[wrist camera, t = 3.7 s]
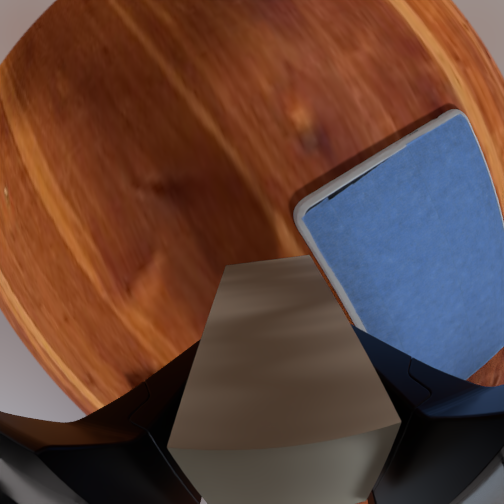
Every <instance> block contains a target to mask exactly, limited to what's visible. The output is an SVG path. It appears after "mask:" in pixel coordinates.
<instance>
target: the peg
mask: <svg viewBox="0 0 504 504" xmlns="http://www.w3.org/2000/svg"><path fill="white" fill-rule="evenodd" d="M400 425H401V420H400V418H399V416H398V414H397V412H396V410H395V408H394V406H393V404H392V402H391V400H390V398H389V396H388V394H387V392H386V390H385V388H384V386H383V384H382V382H381V380H380V378H379V376H378V374H377V372H376V370H375V369H374V367H373V365H372V363H371V361H370V359H369V357H368V355H367V354H366V352H365V350H364V348H363V346H362V344H361V343H360V341H359V339H358V337H357V335H356V334H355V332H354V330H353V328H352V326H351V325H350V323H349V321H348V319H347V318H346V316H345V314H344V312H343V310H342V309H341V307H340V305H339V304H338V302H337V300H336V298H335V297H334V295H333V293H332V292H331V290H330V288H329V286H328V285H327V283H326V281H325V280H324V278H323V276H322V275H321V273H320V271H319V270H318V268H317V266H316V265H315V263H314V261H313V260H312V258H311V256H310V255H305V256H297V257H289V258H281V259H274V260H266V261H258V262H250V263H242V264H234V265H226V267H225V270H224V273H223V276H222V278H221V281H220V284H219V287H218V290H217V293H216V296H215V299H214V302H213V305H212V308H211V311H210V314H209V317H208V320H207V323H206V326H205V329H204V332H203V335H202V338H201V341H200V344H199V347H198V350H197V353H196V356H195V359H194V362H193V365H192V368H191V371H190V374H189V377H188V381H187V384H186V387H185V390H184V393H183V396H182V399H181V403H180V406H179V409H178V412H177V415H176V419H175V422H174V425H173V428H172V432H171V435H170V438H169V441H168V445H167V449H168V450H169V452H170V453H171V455H172V456H173V458H174V459H175V461H176V462H177V464H178V465H179V467H180V468H181V469H182V471H183V472H184V474H185V475H186V476H187V478H188V479H189V481H190V482H191V483H192V485H193V486H194V487H195V489H196V490H197V491H198V492H199V494H200V495H201V496H202V497H203V498H204V500H205V501H206V502H207V504H355V503H359V502H363V501H366V500H367V498H368V496H369V494H370V492H371V490H372V488H373V487H374V485H375V483H376V481H377V479H378V477H379V475H380V472H381V470H382V468H383V466H384V464H385V462H386V459H387V457H388V455H389V453H390V450H391V448H392V445H393V443H394V440H395V438H396V435H397V433H398V430H399V427H400Z"/></svg>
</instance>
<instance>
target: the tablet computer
mask: <svg viewBox="0 0 504 504" xmlns="http://www.w3.org/2000/svg"><path fill="white" fill-rule="evenodd" d="M293 217H294V222H295V225H296V227H297V229H298V231H299V232H300V234H301V235H302V237H303V238H304V240H305V242H306V243H307V245H308V246H309V248H310V250H311V251H312V253H313V255H314V256H315V258H316V259H317V261H318V263H319V264H320V266H321V268H322V269H323V271H324V273H325V274H326V276H327V278H328V279H329V281H330V283H331V284H332V286H333V288H334V289H335V291H336V293H337V294H338V296H339V298H340V300H341V301H342V303H343V305H344V307H345V309H346V310H347V312H348V314H349V316H350V317H351V319H352V321H353V323H354V325H355V326H356V327H357V328H359V329H361V330H363V331H365V332H366V333H368V334H370V335H372V336H374V337H376V338H378V339H379V340H381V341H383V342H385V343H387V344H389V345H391V346H393V347H394V348H396V349H398V350H400V351H402V352H404V353H406V354H408V355H410V356H411V357H412V358H415V359H417V360H419V361H421V362H423V363H425V364H427V365H429V366H431V367H433V368H436V369H438V370H441V371H443V372H445V373H448V374H450V375H453V376H456V377H458V378H461V379H463V380H466V379H468V378H469V377H470V376H471V375H472V374H474V373H475V372H476V371H477V370H478V369H480V368H481V367H482V366H483V365H484V364H485V363H486V362H488V361H489V360H490V359H491V358H492V357H493V356H494V355H495V354H496V353H497V352H498V351H499V350H501V349H502V348H503V347H504V221H503V217H502V213H501V209H500V205H499V201H498V198H497V194H496V191H495V187H494V184H493V181H492V178H491V175H490V172H489V169H488V166H487V163H486V161H485V158H484V155H483V153H482V150H481V148H480V145H479V142H478V140H477V138H476V135H475V133H474V131H473V129H472V126H471V124H470V122H469V120H468V118H467V116H466V115H465V114H464V113H463V112H462V111H460V110H458V109H451V110H448V111H447V112H445V113H443V114H442V115H440V116H438V118H437V119H434V120H431V121H430V122H428V123H426V124H425V125H423V126H421V127H420V128H418V129H416V130H415V131H414V132H412V133H410V134H408V135H407V136H405V137H403V138H401V139H400V140H398V141H396V142H395V143H393V144H391V145H390V146H388V147H386V148H385V149H383V150H382V151H380V152H378V153H377V154H375V155H373V156H372V157H370V158H368V159H367V160H365V161H364V162H362V163H360V164H359V165H357V166H355V167H354V168H352V169H350V170H349V171H347V172H346V173H344V174H342V175H341V176H339V177H337V178H336V179H334V180H332V181H331V182H329V183H327V184H326V185H324V186H322V187H321V188H319V189H318V190H316V191H315V192H313V193H311V194H309V195H308V196H306V197H304V198H303V199H302V200H301V201H300V202H299V203H298V204H297V205H296V207H295V209H294V213H293Z"/></svg>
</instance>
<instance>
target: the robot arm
mask: <svg viewBox="0 0 504 504" xmlns="http://www.w3.org/2000/svg"><path fill="white" fill-rule="evenodd" d="M350 325H351V326H352V328H353V330H354V332H355V334H356V335H357V337H358V339H359V341H360V343H361V344H362V346H363V348H364V350H365V352H366V354H367V355H368V357H369V359H370V361H371V363H372V365H373V367H374V369H375V370H376V372H377V374H378V376H379V378H380V380H381V382H382V384H383V386H384V388H385V390H386V392H387V394H388V396H389V398H390V400H391V402H392V404H393V406H394V408H395V410H396V412H397V414H398V416H399V418H400V420H401V425H400V427H399V430H398V433H397V435H396V438H395V440H394V443H393V445H392V448H391V450H390V453H389V455H388V457H387V459H386V462H385V464H384V466H383V468H382V470H381V472H380V475H379V477H378V479H377V481H376V483H375V485H374V487H373V488H372V490H371V492H370V494H369V496H368V498H367V500H368V504H504V385H500V386H496V387H485V386H480V385H477V384H474V383H471V382H469V381H466V380H463V379H461V378H458V377H456V376H453V375H450V374H448V373H445V372H443V371H441V370H438V369H436V368H433V367H431V366H429V365H427V364H425V363H423V362H421V361H419V360H417V359H415V358H412V357H411V356H410V355H408V354H406V353H404V352H402V351H400V350H398V349H396V348H394V347H393V346H391V345H389V344H387V343H385V342H383V341H381V340H379V339H378V338H376V337H374V336H372V335H370V334H368V333H366V332H365V331H363V330H361V329H359V328H357V327H355V326H353V325H352V324H350ZM200 341H201V339H200V340H199V341H197V342H196V343H195V344H194V345H192V346H191V347H190V348H188V349H187V350H186V351H184V352H183V353H182V354H180V355H179V356H178V357H176V358H175V359H174V360H172V361H171V362H170V363H168V364H167V365H166V366H164V367H163V368H161V369H160V370H159V371H157V372H156V373H155V374H153V375H152V376H150V377H149V378H148V379H146V380H145V382H142V383H141V384H139V385H138V386H137V387H135V388H134V389H132V390H131V391H129V392H128V393H126V394H125V395H123V396H121V397H120V398H118V399H116V400H115V401H113V402H111V403H109V404H108V405H106V406H104V407H102V408H100V409H99V410H97V411H95V412H93V413H91V414H90V415H88V416H86V417H84V418H82V419H80V420H77V421H74V422H68V423H60V422H52V421H45V420H39V419H33V418H27V417H21V416H17V415H12V414H8V413H4V412H1V411H0V504H200V502H201V497H202V496H201V495H200V494H199V492H198V491H197V490H196V489H195V487H194V486H193V485H192V483H191V482H190V481H189V479H188V478H187V476H186V475H185V474H184V472H183V471H182V469H181V468H180V467H179V465H178V464H177V462H176V461H175V459H174V458H173V456H172V455H171V453H170V452H169V450H168V449H167V445H168V441H169V438H170V435H171V432H172V428H173V425H174V422H175V419H176V415H177V412H178V409H179V406H180V403H181V399H182V396H183V393H184V390H185V387H186V384H187V381H188V377H189V374H190V371H191V368H192V365H193V362H194V359H195V356H196V353H197V350H198V347H199V344H200Z"/></svg>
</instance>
